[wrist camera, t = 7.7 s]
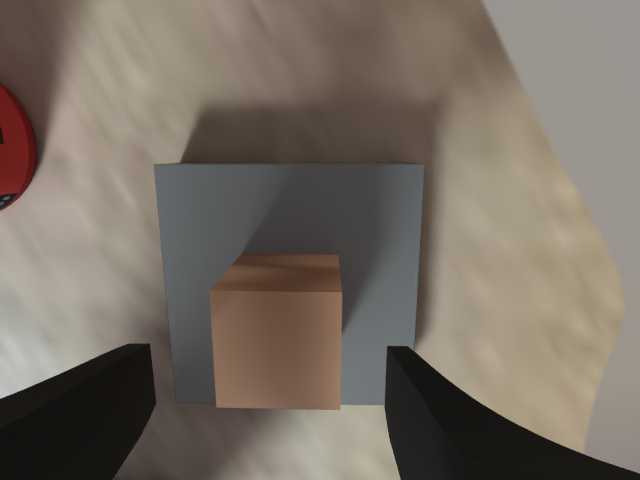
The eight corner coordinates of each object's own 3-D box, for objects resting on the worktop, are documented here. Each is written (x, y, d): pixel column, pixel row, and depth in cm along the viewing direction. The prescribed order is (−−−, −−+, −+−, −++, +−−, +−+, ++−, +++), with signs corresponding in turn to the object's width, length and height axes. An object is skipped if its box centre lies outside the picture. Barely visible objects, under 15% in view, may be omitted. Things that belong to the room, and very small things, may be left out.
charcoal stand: (195, 370, 23) (176, 402, 20) (179, 163, 20) (153, 164, 17) (400, 372, 22) (410, 405, 19) (410, 162, 20) (424, 164, 17)
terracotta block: (245, 341, 19) (216, 407, 14) (241, 253, 18) (209, 290, 13) (337, 343, 19) (339, 409, 14) (338, 254, 18) (342, 292, 13)
